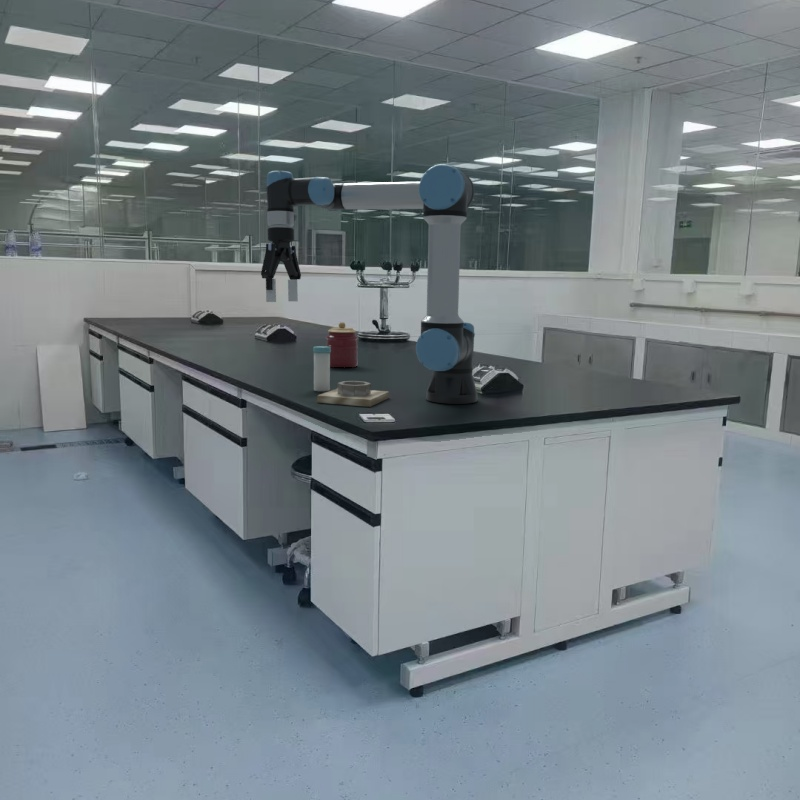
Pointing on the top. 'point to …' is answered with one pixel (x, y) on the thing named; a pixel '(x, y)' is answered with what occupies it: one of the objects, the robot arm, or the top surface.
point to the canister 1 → (321, 368)
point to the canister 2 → (342, 346)
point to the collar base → (353, 394)
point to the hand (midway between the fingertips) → (282, 301)
